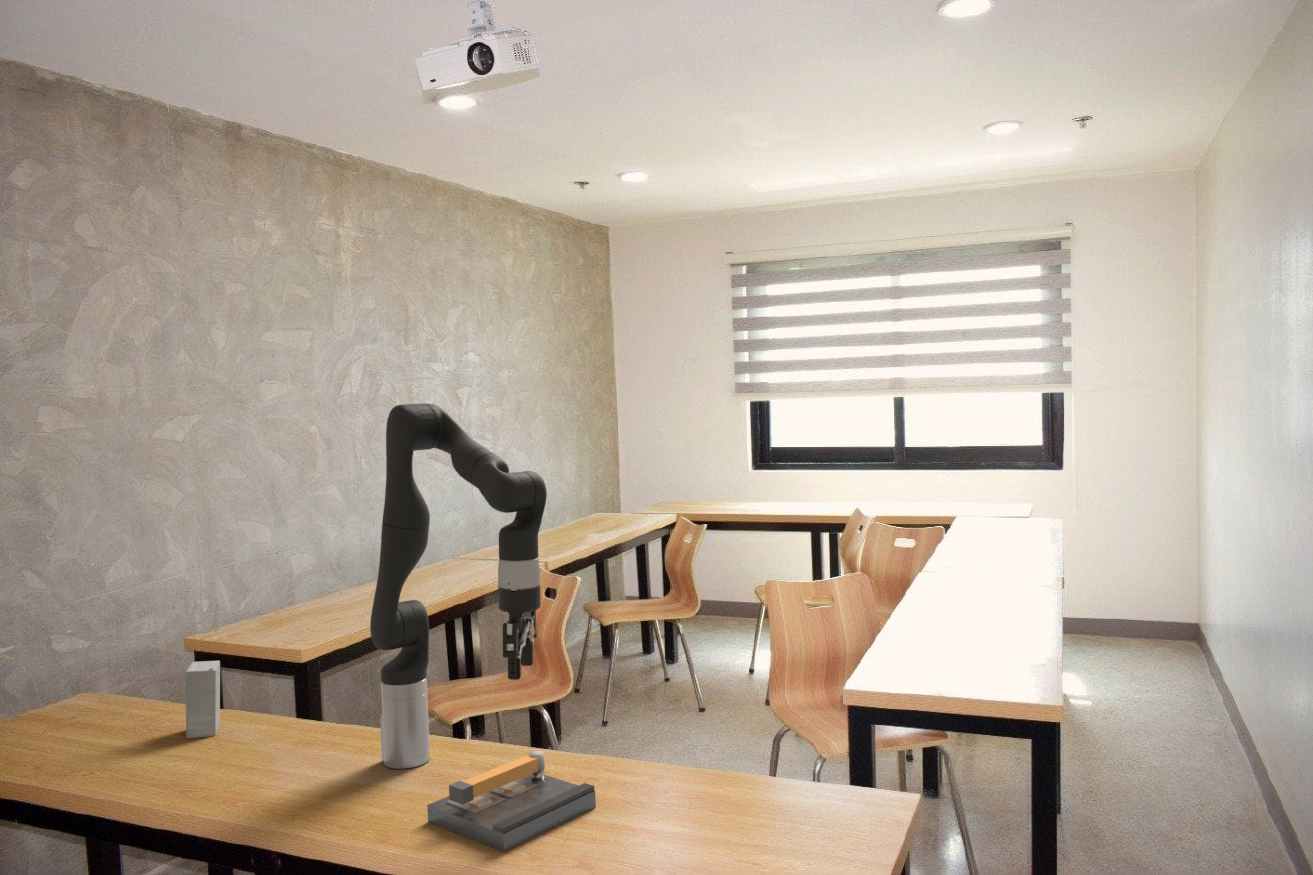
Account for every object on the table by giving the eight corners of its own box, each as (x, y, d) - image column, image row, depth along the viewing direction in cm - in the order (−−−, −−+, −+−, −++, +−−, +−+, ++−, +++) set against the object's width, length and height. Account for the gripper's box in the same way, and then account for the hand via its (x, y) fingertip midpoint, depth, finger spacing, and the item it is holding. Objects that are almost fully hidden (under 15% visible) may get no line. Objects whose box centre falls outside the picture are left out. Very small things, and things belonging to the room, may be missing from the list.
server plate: (427, 821, 171) (427, 799, 171) (521, 781, 188) (520, 762, 188) (503, 852, 159) (503, 828, 158) (596, 806, 176) (595, 785, 176)
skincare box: (190, 728, 227) (187, 661, 226) (224, 724, 229) (221, 658, 229) (184, 740, 219) (181, 670, 218) (219, 736, 221) (216, 667, 221)
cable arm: (449, 800, 170) (448, 783, 170) (536, 764, 186) (535, 749, 186) (462, 805, 167) (462, 788, 167) (549, 768, 183) (548, 753, 183)
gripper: (509, 575, 181) (511, 660, 182) (487, 590, 167) (489, 683, 168) (549, 575, 180) (550, 661, 181) (529, 591, 166) (531, 684, 167)
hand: (520, 672), depth 175 cm, fingers open, 8 cm apart
